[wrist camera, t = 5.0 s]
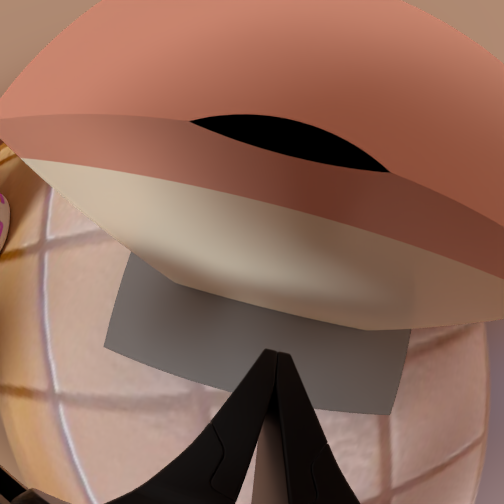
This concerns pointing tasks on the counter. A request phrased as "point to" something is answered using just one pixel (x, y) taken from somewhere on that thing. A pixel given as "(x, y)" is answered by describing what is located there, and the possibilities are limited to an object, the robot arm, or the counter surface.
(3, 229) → the supplement bottle
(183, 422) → the counter surface
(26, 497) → the robot arm
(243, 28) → the key
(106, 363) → the counter surface
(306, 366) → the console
